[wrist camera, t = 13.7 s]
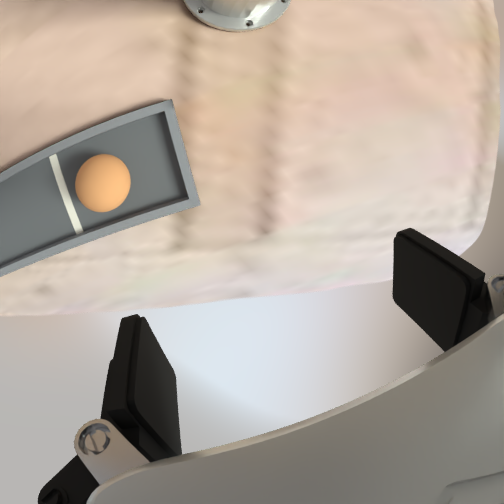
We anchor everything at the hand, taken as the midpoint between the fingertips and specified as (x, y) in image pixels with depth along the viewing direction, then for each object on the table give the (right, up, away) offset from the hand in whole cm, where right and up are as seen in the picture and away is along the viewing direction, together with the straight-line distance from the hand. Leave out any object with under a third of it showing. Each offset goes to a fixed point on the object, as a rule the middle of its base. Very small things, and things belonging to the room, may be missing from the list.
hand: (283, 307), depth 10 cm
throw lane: (-25, +8, +20) cm, 33 cm away
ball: (-16, +9, +18) cm, 26 cm away
